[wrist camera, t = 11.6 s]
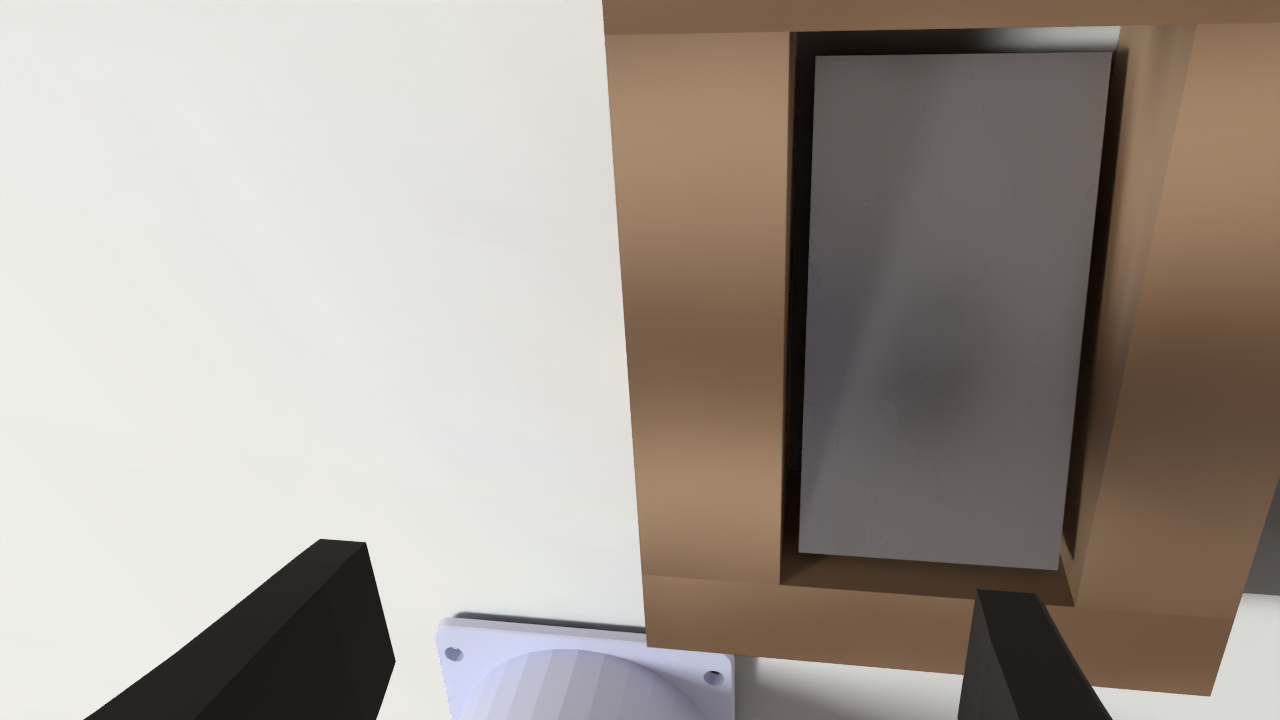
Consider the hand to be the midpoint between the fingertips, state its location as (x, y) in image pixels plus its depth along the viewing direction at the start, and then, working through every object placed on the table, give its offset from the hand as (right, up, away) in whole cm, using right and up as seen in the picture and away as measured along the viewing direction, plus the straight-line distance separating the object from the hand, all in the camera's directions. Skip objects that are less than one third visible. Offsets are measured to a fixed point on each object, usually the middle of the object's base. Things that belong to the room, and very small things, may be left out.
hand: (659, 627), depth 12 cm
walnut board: (+6, +5, +8) cm, 11 cm away
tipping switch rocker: (+5, +4, +7) cm, 9 cm away
